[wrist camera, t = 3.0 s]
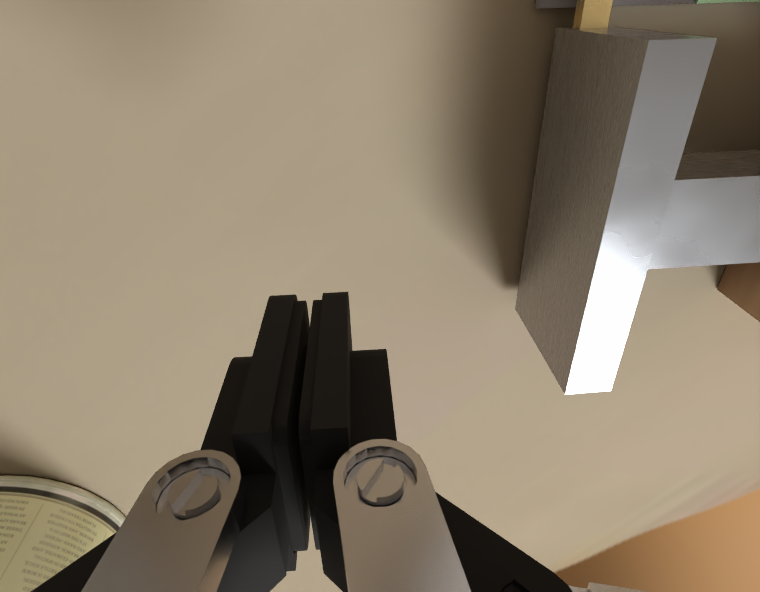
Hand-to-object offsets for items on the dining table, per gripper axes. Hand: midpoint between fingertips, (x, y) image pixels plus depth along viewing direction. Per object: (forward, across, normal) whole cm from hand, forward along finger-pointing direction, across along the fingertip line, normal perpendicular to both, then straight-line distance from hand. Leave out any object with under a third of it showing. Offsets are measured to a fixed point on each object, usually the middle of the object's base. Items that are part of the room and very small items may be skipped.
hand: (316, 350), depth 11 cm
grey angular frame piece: (+8, -12, -2) cm, 15 cm away
